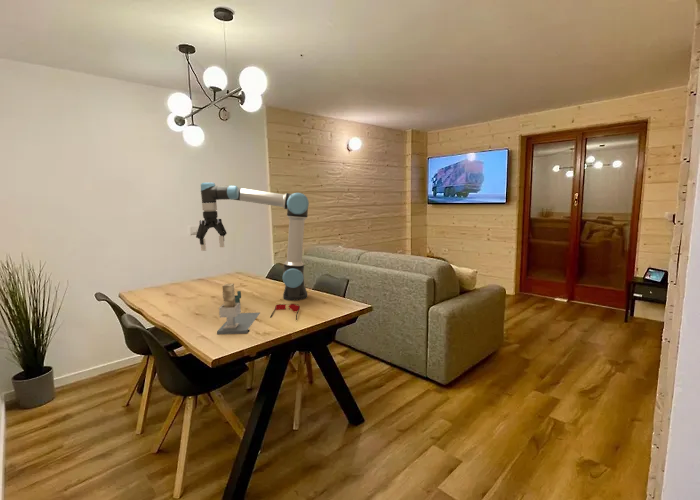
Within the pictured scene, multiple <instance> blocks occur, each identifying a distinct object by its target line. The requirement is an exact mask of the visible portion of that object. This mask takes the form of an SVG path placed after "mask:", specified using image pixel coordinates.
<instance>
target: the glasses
mask: <svg viewBox="0 0 700 500" xmlns="http://www.w3.org/2000/svg"><path fill="white" fill-rule="evenodd" d="M287 305H288V310H291V311H293V312H294V311H296V314H295V321H296V320H297V321H298V314H299V311H300V310H301V309H300V308H301V306H300V305H299V304H298V303H296V304H295V303H290V304H288V303H286V304H285V303H283V304H282V303H280V304H276V305H275V308H274V310H273V311H272V313H271V315H270V318H272V316H273V315H274V313H275V311H279V310H280V311H281V310H286V308H287V307H286V306H287Z"/></svg>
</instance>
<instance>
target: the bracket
mask: <svg viewBox="0 0 700 500" xmlns="http://www.w3.org/2000/svg"><path fill="white" fill-rule="evenodd" d="M236 294H237V295H236ZM236 294H235V303H240V304H241V300H240V299H241V298H242V293H241V290H237V292H236Z"/></svg>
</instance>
